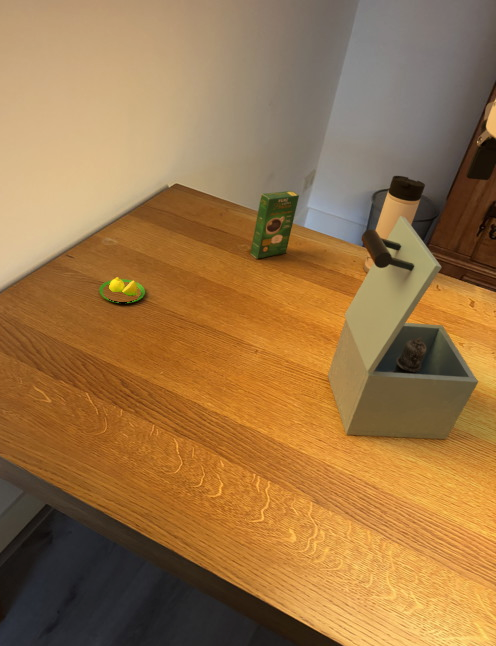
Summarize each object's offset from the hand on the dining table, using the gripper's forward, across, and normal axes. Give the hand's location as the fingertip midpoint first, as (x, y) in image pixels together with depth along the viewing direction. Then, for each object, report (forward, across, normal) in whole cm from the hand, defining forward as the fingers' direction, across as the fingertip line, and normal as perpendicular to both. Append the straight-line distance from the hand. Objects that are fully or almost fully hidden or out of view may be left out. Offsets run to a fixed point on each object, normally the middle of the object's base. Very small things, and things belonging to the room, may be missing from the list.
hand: (492, 192), depth 69 cm
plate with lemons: (+31, +18, +48) cm, 60 cm away
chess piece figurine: (+30, -8, +6) cm, 31 cm away
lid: (+11, -8, +12) cm, 19 cm away
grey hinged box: (+30, -8, +7) cm, 32 cm away
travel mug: (+31, +34, -4) cm, 46 cm away
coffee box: (+31, +38, +19) cm, 52 cm away
